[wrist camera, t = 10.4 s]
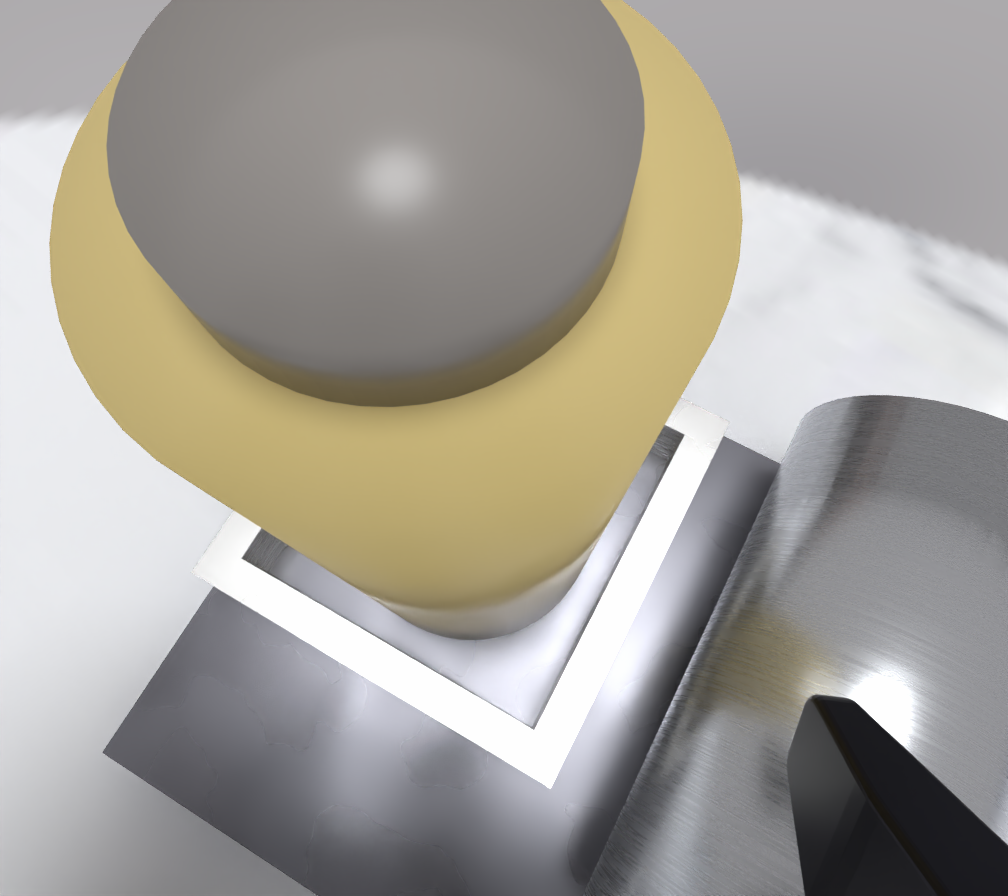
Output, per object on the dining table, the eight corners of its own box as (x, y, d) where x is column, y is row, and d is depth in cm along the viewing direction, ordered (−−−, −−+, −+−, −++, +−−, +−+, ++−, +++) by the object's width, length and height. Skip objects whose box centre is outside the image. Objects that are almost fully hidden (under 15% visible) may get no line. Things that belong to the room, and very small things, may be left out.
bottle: (452, 693, 18) (263, 707, 4) (307, 501, 19) (-167, 67, 6) (641, 534, 19) (956, 151, 5) (490, 364, 20) (446, -266, 7)
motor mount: (766, 1163, 16) (971, 1539, 9) (133, 748, 19) (-99, 780, 12) (973, 585, 20) (1234, 524, 13) (421, 310, 22) (380, 131, 15)
